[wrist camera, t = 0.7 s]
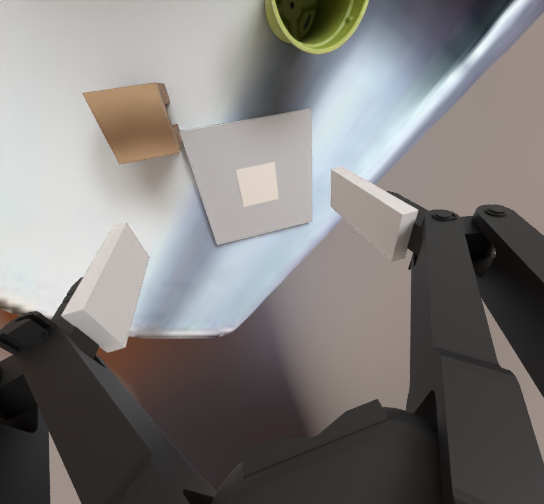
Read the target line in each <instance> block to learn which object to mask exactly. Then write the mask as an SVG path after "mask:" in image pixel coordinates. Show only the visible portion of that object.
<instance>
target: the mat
mask: <svg viewBox="0 0 544 504" xmlns="http://www.w3.org/2000/svg"><path fill="white" fill-rule="evenodd" d="M179 133H180V136H181V139H182V142H183V145H184V148H185V151H186V154H187V157H188V160H189V163H190V166H191V169H192V172H193V175H194V178H195V181H196V184H197V187H198V190H199V193H200V196H201V199H202V201H203V204H204V207H205V210H206V213H207V216H208V219H209V222H210V225H211V228H212V231H213V234H214V237H215V240H216V243H217V245H220V244H224V243H228V242H232V241H236V240H240V239H244V238H248V237H252V236H256V235H260V234H264V233H268V232H272V231H276V230H280V229H284V228H288V227H292V226H296V225H300V224H304V223H308V222H312V132H311V109H309V108H308V109H302V110H297V111H291V112H285V113H280V114H274V115H268V116H263V117H257V118H251V119H246V120H240V121H234V122H229V123H223V124H217V125H212V126H206V127H200V128H195V129H189V130H183V131H180V132H179Z"/></svg>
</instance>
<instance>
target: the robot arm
mask: <svg viewBox="0 0 544 504" xmlns="http://www.w3.org/2000/svg"><path fill="white" fill-rule="evenodd" d="M331 207H332V208H333V209H334V210H335V211H336V212H337V213H338V214H339V215H340V216H342V217H343V218H344V219H345V220H346V221H347V222H348V223H349V224H350V225H351V226H352V227H354V228H355V229H356V230H357V231H358V232H359V233H360V234H361V235H362V236H363V237H364V238H366V239H367V240H368V241H369V242H370V243H371V244H372V245H373V246H374V247H375V248H376V249H378V250H379V251H380V252H381V253H382V254H383V255H384V256H385V257H386V258H387V259H389V260H390V261H391V262H393V261H396V260H399V259H403V258H405V255H406V252H407V248H408V249H410V250H411V251H412V252H413V255H412V258H411V262H410V265H409V268H408V269H409V270H411V337H410V339H411V341H410V345H411V346H410V388H409V394H408V399H407V405H406V411H405V410H401V409H397V408H390V407H382V406H381V404H380V403H379V401H378V399H376V400H374V401H371V402H369V403H366V404H363V405H361V406H358V407H356V408H353V409H351V410H348V411H346V412H345V413H343V414H342V415H341V416H340V417H339V418H338V419H336V420H335V421H334V422H333V423H332V424H331V425H329V426H328V427H327V428H326V429H325V430H324V431H322V432H321V433H320V434H319V435H317V436H315V437H301V438H279V439H274V440H272V441H269V442H267V443H264V444H261V445H259V446H256V447H254V448H251V449H249V450H246V451H243V452H241V455H242V463H241V464H239V465H238V466H237V467H236V468H235V469H234V470H233V471H232V472H231V473H230V475H229V476H228V477H227V478H226V480H225V481H224V483H223V484H222V485H221V487H220V489H219V490H218V492H216V491H215V490H214V489H213V488H212V487H211V485H209V483H208V482H207V481H205V480H204V479H203V478H202V477H201V476H200V475H198V474H197V473H196V472H195V471H194V469H193V468H192V467H191V466H190V465H189V464H188V462H187V461H186V460H185V459H184V458H183V456H182V455H181V454H180V453H179V452H178V450H177V449H176V448H175V447H174V446H173V444H172V443H171V442H170V441H169V440H168V439H167V437H166V436H165V435H164V434H163V432H161V430H160V429H159V428H158V426H157V425H156V424H155V423H154V422H153V420H152V419H151V418H150V417H149V416H148V414H147V413H146V412H145V411H144V410H143V408H142V407H141V406H140V405H139V404H138V402H137V401H136V400H135V399H134V398H133V396H132V395H131V394H130V393H129V392H128V391H127V389H126V388H125V387H124V386H123V385H122V383H121V382H120V381H119V380H118V378H117V377H116V376H115V375H114V374H113V372H112V371H111V370H110V369H109V368H108V367H107V365H106V364H105V363H104V362H103V360H102V359H101V358H99V357H98V356H97V355H96V352H97V350H98V347H99V346H100V347H101V348H102V349H103V350H105V351H106V352H107V353H109V352H112V351H115V350H118V349H121V348H124V347H126V343H127V339H128V336H129V332H130V328H131V324H132V321H133V317H134V313H135V310H136V306H137V302H138V298H139V295H140V291H141V287H142V284H143V280H144V276H145V272H146V269H147V265H148V261H149V256H148V254H147V253H146V251H145V250H144V248H143V247H142V245H141V244H140V242H139V241H138V239H137V238H136V236H135V235H134V233H133V231H132V230H131V228H130V227H129V225H128V224H127V223H123V224H119V225H115V226H113V227H112V229H111V231H110V232H109V234H108V236H107V238H106V239H105V241H104V243H103V244H102V246H101V248H100V250H99V251H98V253H97V255H96V256H95V258H94V260H93V262H92V263H91V265H90V267H89V268H88V270H87V272H86V274H85V275H84V277H82V278H80V279H79V280H78V281H77V282H76V283H75V284H74V285H73V286H72V287H71V289H70V290H69V292H68V293H67V296H66V297H65V298H64V300H63V303H62V304H61V305H60V306H59V308H58V310H57V311H56V313H55V315H54V316H53V318H52V319H51V321H50V320H49V319H48V318H46V317H45V316H44V315H42V314H41V313H39V312H37V311H34V312H29V313H26V314H23V315H21V316H19V317H17V318H15V319H14V320H12V321H11V322H9V323H8V324H7V325H5V326H4V327H3V328H2V329H1V330H0V347H1V348H3V349H4V350H6V351H8V352H10V353H12V354H14V355H12V356H10V357H8V358H6V359H4V360H3V361H1V362H0V504H50V472H49V432H50V434H51V437H52V439H53V441H54V443H55V445H56V448H57V450H58V452H59V454H60V457H61V459H62V461H63V463H64V466H65V468H66V470H67V472H68V474H69V477H70V479H71V481H72V483H73V486H74V488H75V490H76V492H77V495H78V497H79V499H80V501H81V503H82V504H544V463H543V460H542V457H541V453H540V450H539V447H538V444H537V440H536V437H535V434H534V431H533V427H532V424H531V421H530V418H529V414H528V411H527V408H526V404H525V401H524V398H523V394H522V391H521V388H520V385H519V383H518V381H517V379H516V377H515V375H514V374H513V373H512V372H511V371H510V370H506V369H503V368H501V366H500V365H499V363H498V361H497V358H496V354H495V350H494V346H493V342H492V338H491V334H490V330H489V326H488V323H487V319H486V315H485V311H484V307H483V304H482V300H481V298H482V299H483V301H484V303H485V305H486V306H487V308H488V309H489V311H490V313H491V314H492V316H493V317H494V319H495V321H496V322H497V324H498V325H499V327H500V329H501V330H502V332H503V333H504V335H505V337H506V338H507V340H508V341H509V343H510V345H511V346H512V348H513V349H514V351H515V352H516V354H517V356H518V357H519V359H520V361H521V362H522V364H523V365H524V367H525V369H526V370H527V372H528V373H529V375H530V377H531V378H532V380H533V381H534V383H535V385H536V386H537V388H538V389H539V391H540V392H541V394H542V396H543V397H544V236H543V235H542V234H541V233H539V232H538V231H537V230H536V229H535V228H534V227H532V226H531V225H530V224H529V223H528V222H526V221H525V220H524V219H523V218H522V217H520V216H519V215H518V214H517V213H516V212H515V211H513V210H511V209H509V208H506V207H504V206H501V205H499V206H498V205H482V206H479V207H478V208H477V209H476V211H475V213H474V216H467V217H459V216H458V215H457V214H455V213H454V212H450V211H448V210H431V211H428V210H426V209H424V208H422V207H421V206H419V205H417V204H415V203H413V202H410V200H408V199H406V198H404V197H402V196H401V195H399V194H397V193H393V192H389V191H387V192H386V191H384V190H382V189H381V188H379V187H377V186H375V185H374V184H372V183H370V182H368V181H367V180H365V179H363V178H361V177H359V176H358V175H356V174H354V173H352V172H351V171H349V170H347V169H345V168H344V167H338V168H334V169H331ZM495 251H496V255H495V254H494V253H495Z"/></svg>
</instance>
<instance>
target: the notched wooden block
mask: <svg viewBox="0 0 544 504" xmlns="http://www.w3.org/2000/svg"><path fill="white" fill-rule="evenodd" d="M82 94H83V96H84V97H85V99H86V101H87V103H88V105H89V107H90V109H91V111H92V113H93V115H94V117H95V119H96V120H97V122H98V124H99V126H100V128H101V130H102V132H103V134H104V136H105V138H106V140H107V141H108V143H109V145H110V147H111V149H112V151H113V153H114V155H115V157H116V159H117V161H118V163H119V164H124V163H129V162H135V161H140V160H145V159H150V158H156V157H161V156H166V155H172V154H177V153H179V151H180V147H181V143H182V139H181V136H180V133H179V132H180V130H179V127H178V124H176V125H171V122H170V119H169V116H168V113H167V110H166V107H165V105H166V104H168V103H169V102H170V100H169V97H168V94H167V91H166V88H165V85H164V84H161V83H149V84H142V85H135V86H129V87H122V88H115V89H108V90H101V91H94V92H87V93H82Z"/></svg>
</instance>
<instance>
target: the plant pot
mask: <svg viewBox="0 0 544 504" xmlns="http://www.w3.org/2000/svg"><path fill="white" fill-rule="evenodd" d="M368 1H369V0H265V11H266V16H267V21H268V24H269V26H270V29H271V30H272V32H273V33H274V35H275V36H276V37H277V38H278V39H280V40H281V41H283V42H286V43H290V44H293V45H294V46H296V47H297V48H298V49H300V50H302V51H304V52H307V53H311V54H325V53H328V52H331V51H333V50H335V49H337V48H339V47H340V46H341V45H343V44H344V43H345V42H346V41H347V40H348V39H349V38H350V37H351V35H352V34H353V33H354V31H355V30H356V28H357V27H358V25H359V23H360V21H361V19H362V17H363V15H364V13H365V10H366V8H367V5H368ZM292 2H293V3H294V8H293V9H291V8H290V4H291V3H292ZM309 14H310V17H311V18H310V21H309V23H308V26H307V27H306V28H305V29H304V28H303V26H304V24H305V23H306V21H307V19H308V16H309Z"/></svg>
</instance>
